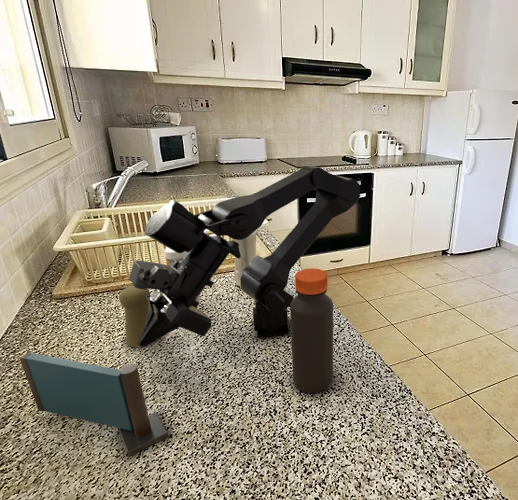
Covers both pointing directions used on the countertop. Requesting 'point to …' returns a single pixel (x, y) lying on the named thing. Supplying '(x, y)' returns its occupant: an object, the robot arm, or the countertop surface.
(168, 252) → the sprinkles bottle
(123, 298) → the olive brown knobbed cone
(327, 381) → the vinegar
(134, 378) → the hinge post
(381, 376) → the countertop surface
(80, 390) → the door
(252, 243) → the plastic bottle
